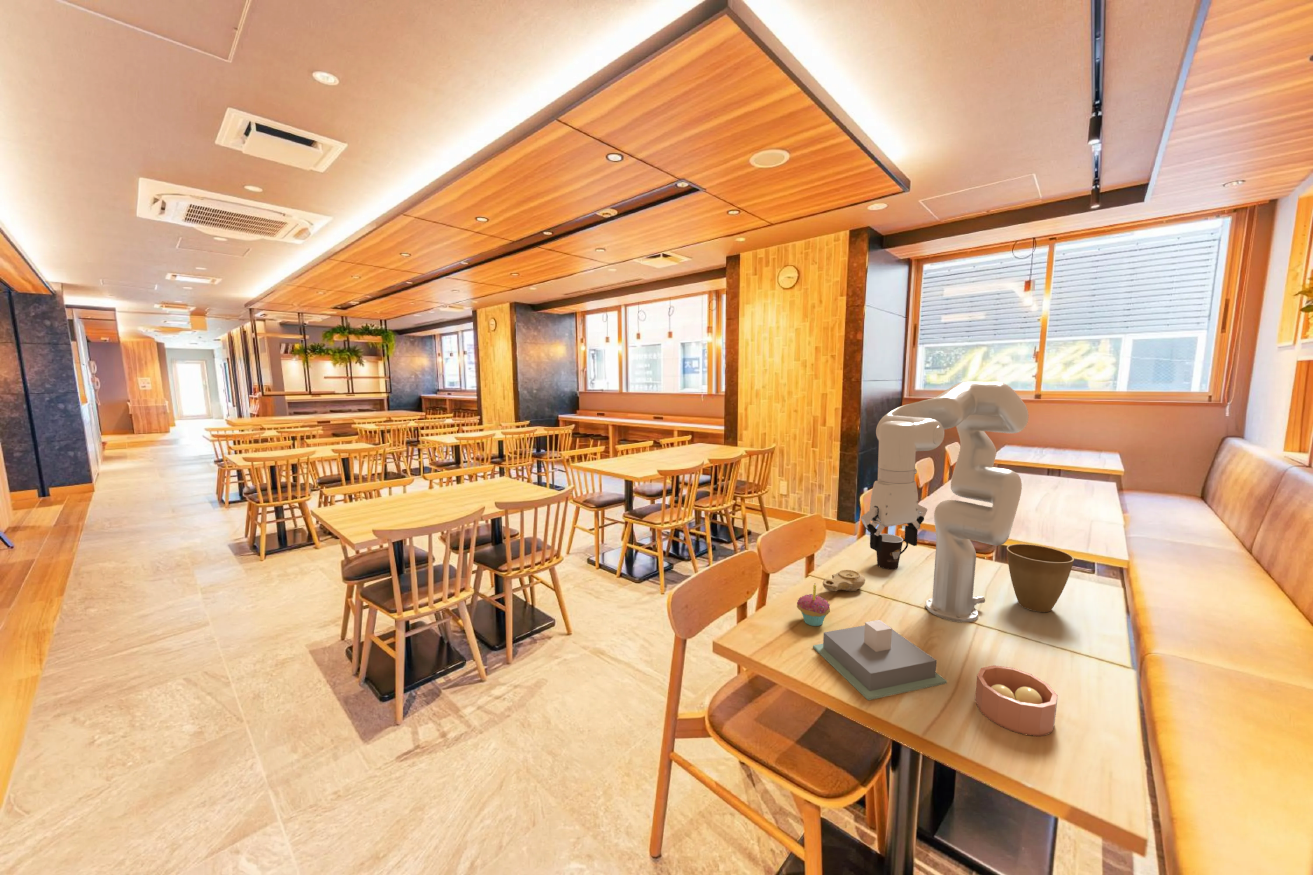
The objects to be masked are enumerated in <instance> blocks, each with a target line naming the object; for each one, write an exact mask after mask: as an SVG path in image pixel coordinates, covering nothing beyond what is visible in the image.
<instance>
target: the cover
mask: <svg viewBox="0 0 1313 875" xmlns="http://www.w3.org/2000/svg"><path fill="white" fill-rule="evenodd" d="M822 644H823V648H824V649H825V650H826V651H827V652H828V653H829V654H830V655H831V656H833V657H834V658H835V659H836V660H837V661H838V662H839V663H840V664H841V665H842V666H843V667H844V668H846V669H847V670H848V671H849V672H850V673H851V674H852V675H853V676H854V677H855V678H856V679H857V680H859V681H860V682H861V683H862V684H863V685H864V686H865V687H866V688H867V689H868V690H869V691H873V690H878V689H883V688H887V687H892V686H897V685H902V684H906V683H911V682H916V681H920V680H925V679H930V678H934V677H936V673H937V662H938V661H937V659H936V658H934V657H933V656H931V655H930V654H928V653H927V652H926V651H924V650H922V649H921V648H920V647H919V646H916V645H915V644H914V643H912V642H911V641H910V640H908V639H907V638H905V636H903V635H901V634H899V632H897V631H896V630H894V629H893V628H892V627H890V626H889V625H888V624H886V623H885V622H884V621H882V620H881V619H876V620H871V621H865V622H864V625H860V626H859V625H858V626H853V627H847V628H841V629H835V630H829V631H823V642H822Z"/></svg>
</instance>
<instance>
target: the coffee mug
mask: <svg viewBox="0 0 1313 875" xmlns="http://www.w3.org/2000/svg"><path fill="white" fill-rule="evenodd" d="M880 535H882V551H881V552H877V551H875V552H876V561H877V562H876V564H877V565H876V566H878V567H879V566H880V567H879V568H882V569H884V570H890V571H893V570H897V569H898V568H899V563H900V558H901V555H902V554H903V553H904V552H905V551H906V550H907V548H908V546H909V543H906V542H905V538H904V539H903V537H901V536H899V535H896V534H895V535H894V534H889V533H880ZM904 542H905V543H906V544H905V547H904V548H902V547H903V543H904ZM902 549H903V550H902Z"/></svg>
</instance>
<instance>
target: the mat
mask: <svg viewBox="0 0 1313 875" xmlns="http://www.w3.org/2000/svg"><path fill="white" fill-rule="evenodd" d="M812 648H813V649H814V650H815V651H816V652H817V653H818V654H819V655H820V656H821V657H822V658H823V659H824V660H825V661H826V662H827V663H828V664H829V665H831V666H832V667H833V669H835V670H836V672H838V673H839V674H840V676H842V677H843V678H844V679H845V680H846V681H847V682H849V684H850V685H851V686H853V688H855V689H856V691H858V692H859V693H860V694H861V695H862V697H864V698H865V699H866V700H867V701H870V700H876V699H880V698H884V697H889V696H894V695H898V694H904V693H907V692H912V691H917V690H921V689H927V688H932V687H935V686H941V685H945V684H947V683H948V680H947V679H946V678H944V677H943V676H941V675H940V674H938V673H937V672H936V677H934V678H930V679H925V680H920V681H916V682H911V683H906V684H902V685H897V686H892V687H887V688H883V689H878V690H873V691H869V690H868V689H867V688H866V687H865V686H864V685H863V684H862V683H861V682H860V681H859V680H857V679H856V678H855V677H854V676H853V675H852V674H851V673H850V672H849V671H848V670H847V669H846V668H844V667H843V666H842V665H841V664H840V663H839V662H838V661H837V660H836V659H835V658H834V657H833V656H831V655H830V654H829V653H828V652H827V651H826V650H825V649H824V648H823V643H819V644H814V645H812Z"/></svg>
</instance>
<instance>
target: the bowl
mask: <svg viewBox="0 0 1313 875" xmlns="http://www.w3.org/2000/svg"><path fill="white" fill-rule="evenodd" d="M974 696H975V697H974V698H975V699H974V701H975V703H976V707H977V708H978V710H979V712H981V714H982V715H983V716H985V717H986V718H987V719H988V720H989V721H991V722H992V723H993V724H996V725H998V726H999V727H1001V728H1003V729H1004V730H1008V731H1010V732H1013V731H1014V733H1016V732H1017V733H1016V734H1019V733H1022V734H1021V735H1023V734H1027V735H1026V736H1029V735H1033V736H1032V737H1044V736H1047V735H1049V734H1051V733H1052V732H1053V730H1054V727H1055V722H1056V717H1057V716H1056V715H1057V708H1058V700H1059V698H1058V697H1059V696H1058V693H1057V692H1055V690H1054V689H1053V688H1052V687H1051V686H1050V684H1049V683H1047V682H1045V681H1044V680H1042V679H1041V678H1039V677H1037V676H1036V675H1034V674H1032V673H1029V672H1026V671H1023V670H1020V669H1017V668H1014V667H1011V666H1002V665H995V664H994V665H989V666H984V667H981V668H980V669H979V671H978V673H977V675H976V687H975V695H974Z"/></svg>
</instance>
